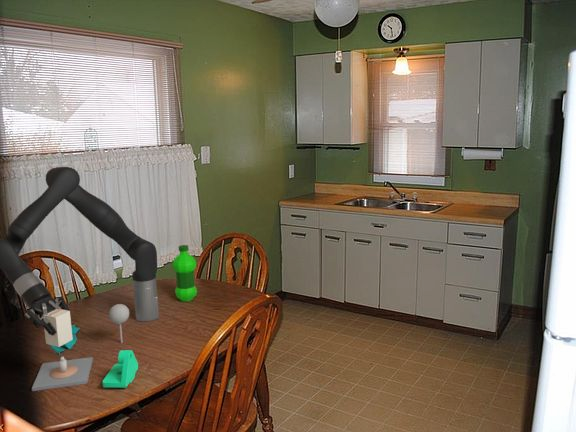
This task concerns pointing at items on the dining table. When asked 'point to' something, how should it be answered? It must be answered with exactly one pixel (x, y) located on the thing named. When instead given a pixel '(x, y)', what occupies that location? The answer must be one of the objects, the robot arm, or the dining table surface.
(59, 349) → the cloth
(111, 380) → the camera mount
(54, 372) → the base
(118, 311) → the lollipop
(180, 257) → the plastic bottle
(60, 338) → the striped cream block
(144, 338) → the dining table surface
